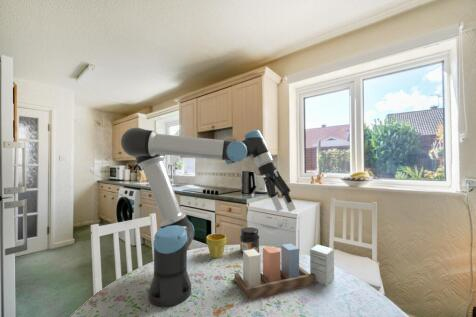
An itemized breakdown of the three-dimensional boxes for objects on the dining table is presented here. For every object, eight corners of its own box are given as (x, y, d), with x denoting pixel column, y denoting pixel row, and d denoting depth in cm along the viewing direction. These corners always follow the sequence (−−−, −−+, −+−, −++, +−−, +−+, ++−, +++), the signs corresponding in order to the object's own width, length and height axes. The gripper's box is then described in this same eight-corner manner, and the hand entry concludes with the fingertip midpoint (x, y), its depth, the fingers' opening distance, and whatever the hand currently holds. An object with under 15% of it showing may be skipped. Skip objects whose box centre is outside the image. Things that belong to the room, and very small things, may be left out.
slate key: (288, 279, 90) (288, 250, 90) (281, 272, 95) (281, 244, 95) (299, 277, 91) (299, 248, 92) (291, 270, 97) (291, 243, 97)
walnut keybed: (248, 300, 76) (248, 289, 76) (234, 279, 90) (234, 269, 90) (315, 284, 86) (315, 274, 86) (294, 267, 100) (294, 259, 100)
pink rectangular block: (269, 283, 87) (269, 253, 87) (262, 275, 92) (262, 247, 92) (280, 281, 88) (280, 251, 88) (273, 273, 94) (273, 246, 94)
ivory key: (248, 287, 84) (248, 256, 84) (243, 279, 89) (243, 250, 89) (260, 285, 85) (260, 254, 85) (254, 277, 91) (254, 248, 91)
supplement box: (317, 272, 96) (317, 243, 96) (334, 279, 90) (334, 248, 91) (309, 279, 91) (309, 248, 91) (327, 286, 85) (327, 254, 85)
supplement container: (242, 257, 111) (242, 233, 111) (237, 249, 121) (237, 227, 121) (262, 255, 113) (262, 232, 114) (255, 247, 124) (255, 226, 124)
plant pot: (202, 256, 112) (202, 237, 112) (215, 249, 120) (215, 232, 120) (217, 261, 106) (217, 241, 106) (230, 254, 114) (230, 235, 114)
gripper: (283, 154, 83) (307, 206, 80) (264, 166, 107) (282, 207, 104) (266, 161, 82) (290, 214, 78) (251, 172, 105) (268, 213, 102)
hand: (285, 210), depth 91 cm, fingers open, 13 cm apart
